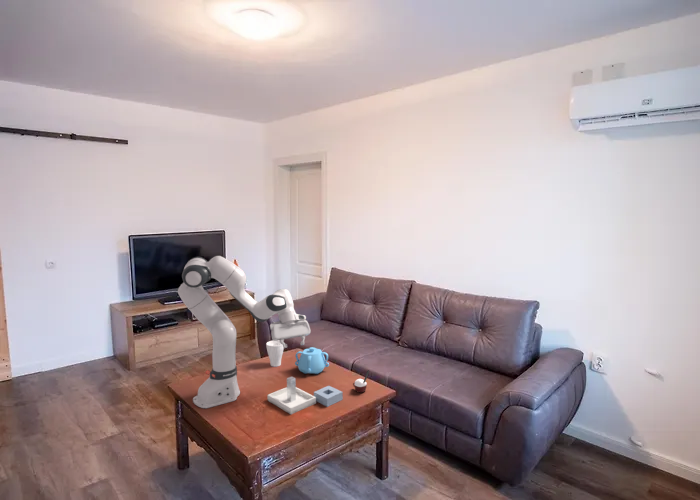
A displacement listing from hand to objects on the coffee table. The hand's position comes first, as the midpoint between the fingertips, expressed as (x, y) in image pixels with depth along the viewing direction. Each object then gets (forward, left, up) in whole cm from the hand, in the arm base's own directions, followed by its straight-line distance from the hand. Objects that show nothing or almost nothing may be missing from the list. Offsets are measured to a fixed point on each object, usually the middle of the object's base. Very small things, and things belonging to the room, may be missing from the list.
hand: (294, 346), depth 202 cm
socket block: (+8, -16, -25) cm, 31 cm away
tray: (-6, -5, -25) cm, 26 cm away
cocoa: (+26, -21, -25) cm, 42 cm away
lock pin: (-6, -5, -24) cm, 25 cm away
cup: (+15, +39, -25) cm, 49 cm away
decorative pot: (+25, +17, -25) cm, 39 cm away
